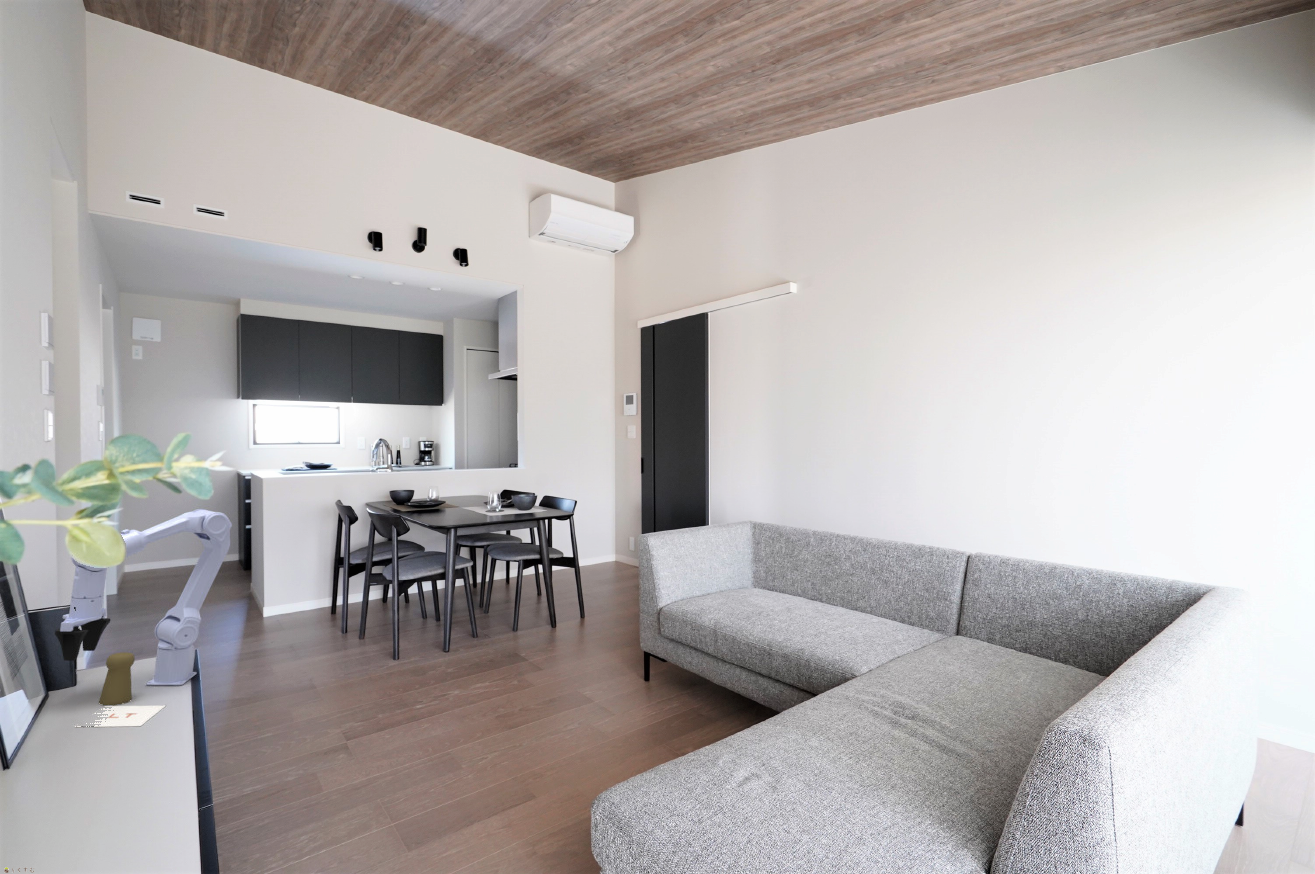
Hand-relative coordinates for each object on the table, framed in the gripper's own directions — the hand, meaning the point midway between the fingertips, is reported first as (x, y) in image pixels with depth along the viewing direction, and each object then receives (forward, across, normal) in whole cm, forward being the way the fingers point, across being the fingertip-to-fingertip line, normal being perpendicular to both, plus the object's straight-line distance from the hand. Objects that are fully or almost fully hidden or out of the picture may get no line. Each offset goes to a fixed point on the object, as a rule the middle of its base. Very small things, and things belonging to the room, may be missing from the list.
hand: (79, 655), depth 153 cm
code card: (+10, +10, +14) cm, 20 cm away
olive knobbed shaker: (+11, 0, +8) cm, 13 cm away
